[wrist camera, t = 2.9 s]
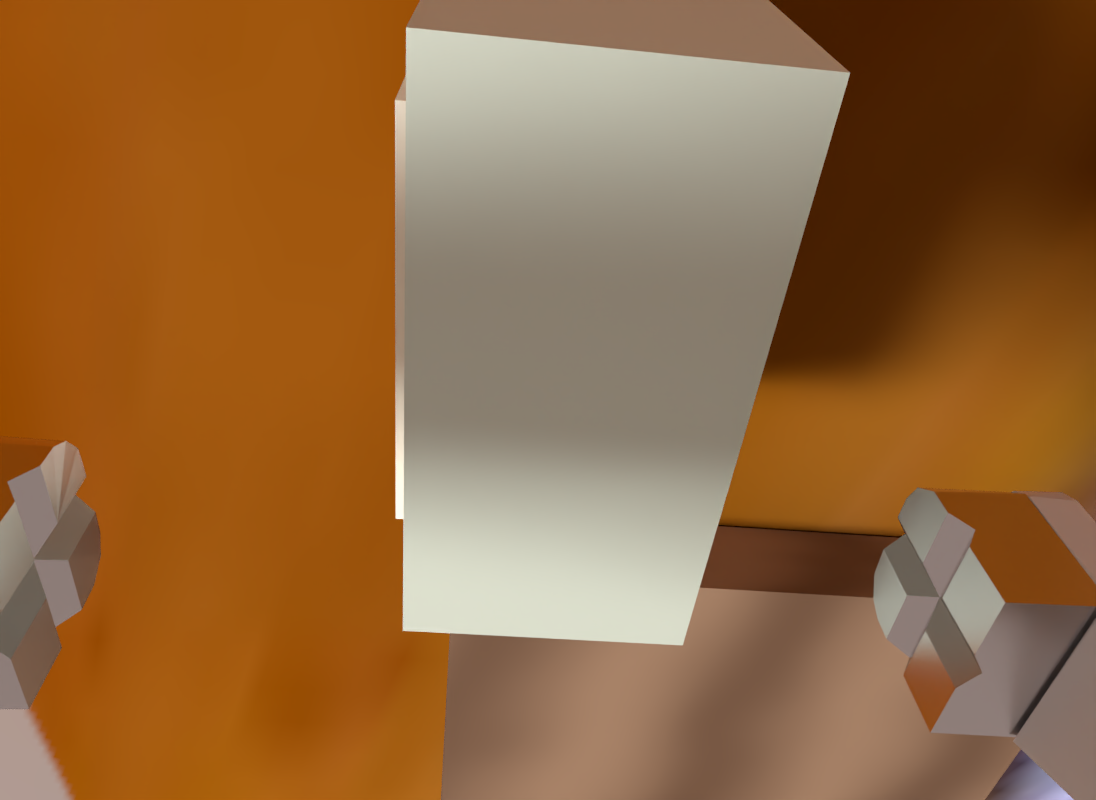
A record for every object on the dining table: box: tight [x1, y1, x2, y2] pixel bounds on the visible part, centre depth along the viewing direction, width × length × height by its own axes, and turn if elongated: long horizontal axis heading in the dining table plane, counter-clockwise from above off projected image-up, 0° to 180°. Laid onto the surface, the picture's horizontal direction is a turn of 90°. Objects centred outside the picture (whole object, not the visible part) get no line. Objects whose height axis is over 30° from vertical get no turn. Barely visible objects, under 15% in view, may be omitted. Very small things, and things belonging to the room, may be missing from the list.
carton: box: [395, 0, 850, 645], centre depth 13 cm, size 4×8×7 cm, turn 174°
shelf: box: [441, 526, 1021, 800], centre depth 23 cm, size 15×14×5 cm
